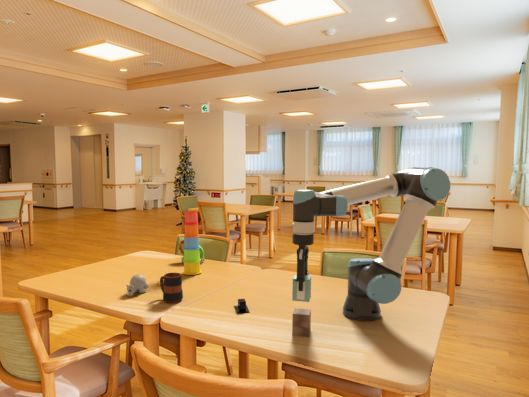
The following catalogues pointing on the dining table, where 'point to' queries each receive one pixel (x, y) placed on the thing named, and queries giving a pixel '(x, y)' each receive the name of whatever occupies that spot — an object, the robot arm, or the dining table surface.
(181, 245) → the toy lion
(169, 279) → the mug
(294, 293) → the teal block
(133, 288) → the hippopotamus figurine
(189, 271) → the stacking cups
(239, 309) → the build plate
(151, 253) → the dining table surface
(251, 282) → the dining table surface
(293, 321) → the walnut block
